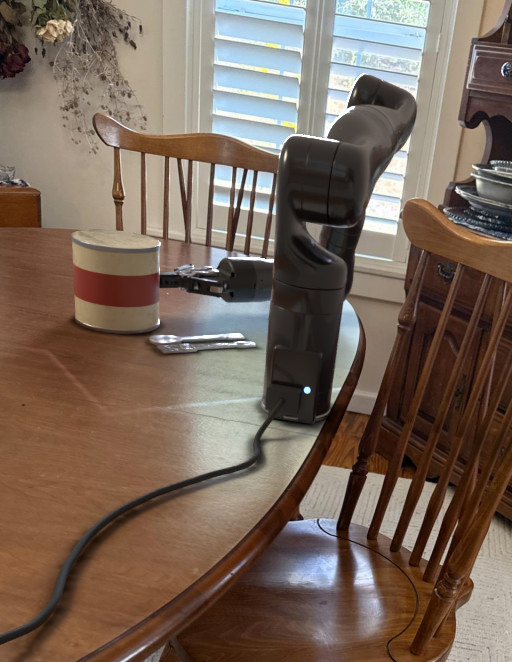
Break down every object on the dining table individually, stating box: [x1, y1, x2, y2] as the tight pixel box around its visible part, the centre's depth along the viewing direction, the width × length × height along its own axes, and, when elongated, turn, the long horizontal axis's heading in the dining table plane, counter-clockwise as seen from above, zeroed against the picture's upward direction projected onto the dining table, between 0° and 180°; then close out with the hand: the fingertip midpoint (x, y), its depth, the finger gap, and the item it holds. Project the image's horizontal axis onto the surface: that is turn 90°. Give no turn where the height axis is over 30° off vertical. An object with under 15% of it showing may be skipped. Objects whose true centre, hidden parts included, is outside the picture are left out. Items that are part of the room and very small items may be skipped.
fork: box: [156, 340, 257, 355], centre depth 121 cm, size 16×3×1 cm, turn 126°
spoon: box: [148, 332, 246, 346], centre depth 124 cm, size 16×4×1 cm, turn 126°
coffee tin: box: [70, 228, 161, 335], centre depth 123 cm, size 13×13×13 cm
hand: (155, 280), depth 127 cm, fingers closed
